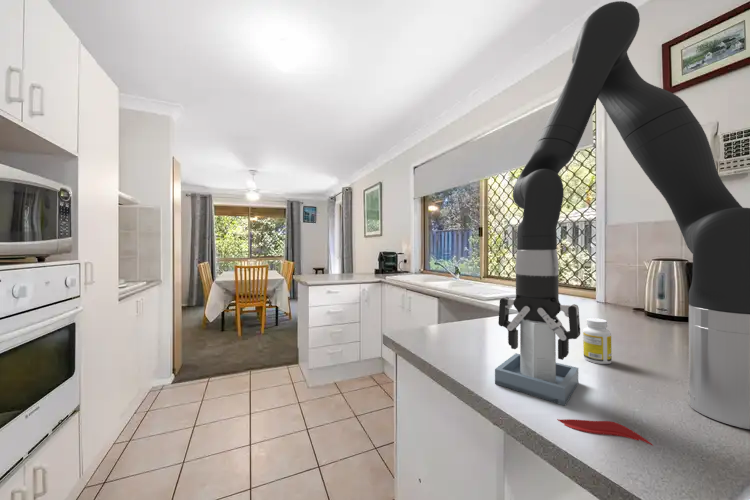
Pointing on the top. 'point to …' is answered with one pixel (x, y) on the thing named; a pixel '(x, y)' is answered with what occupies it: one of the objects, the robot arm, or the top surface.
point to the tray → (538, 381)
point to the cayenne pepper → (602, 428)
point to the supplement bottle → (597, 341)
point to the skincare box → (537, 350)
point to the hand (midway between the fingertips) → (536, 352)
